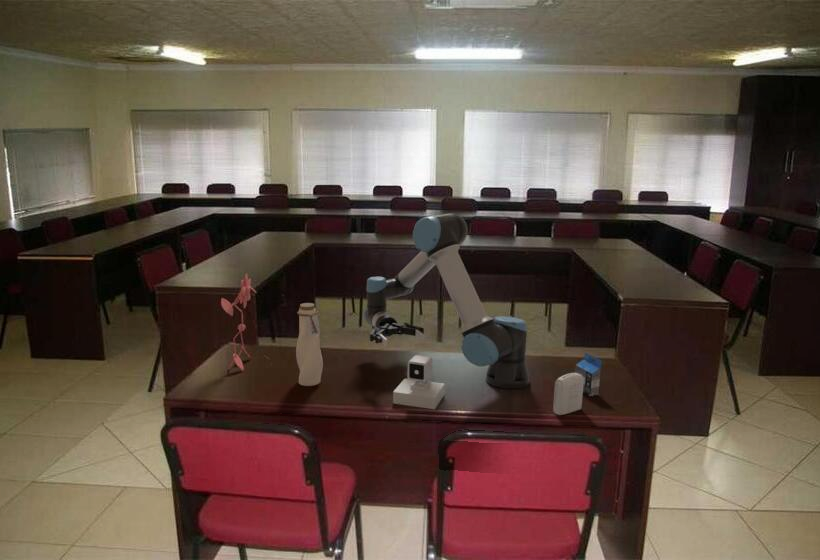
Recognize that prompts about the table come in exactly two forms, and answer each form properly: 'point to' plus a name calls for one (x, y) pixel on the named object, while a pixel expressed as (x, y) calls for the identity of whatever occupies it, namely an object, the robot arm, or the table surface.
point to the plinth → (418, 395)
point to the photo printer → (568, 393)
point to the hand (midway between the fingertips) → (405, 341)
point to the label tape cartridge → (589, 374)
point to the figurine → (228, 308)
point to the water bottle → (309, 346)
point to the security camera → (420, 372)
